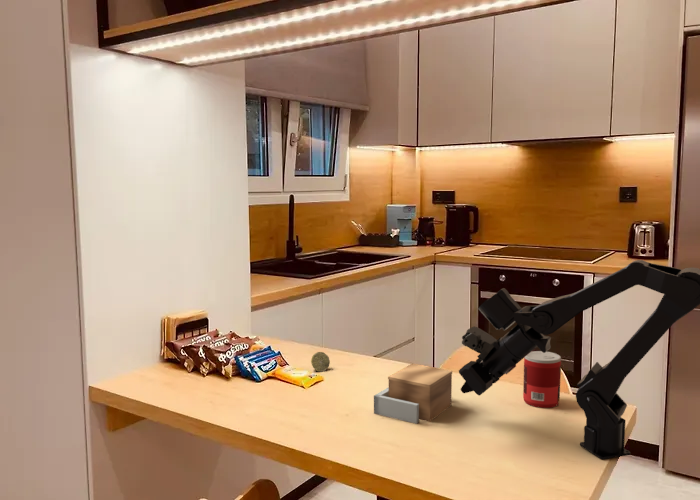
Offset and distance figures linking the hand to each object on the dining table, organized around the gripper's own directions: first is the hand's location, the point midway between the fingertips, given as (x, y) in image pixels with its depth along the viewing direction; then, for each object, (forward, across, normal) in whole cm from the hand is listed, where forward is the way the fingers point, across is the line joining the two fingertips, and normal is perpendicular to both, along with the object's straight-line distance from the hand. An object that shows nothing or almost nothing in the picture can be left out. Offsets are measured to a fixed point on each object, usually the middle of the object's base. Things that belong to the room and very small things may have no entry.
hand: (462, 391), depth 129 cm
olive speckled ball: (+36, -10, -28) cm, 47 cm away
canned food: (-4, -18, +13) cm, 23 cm away
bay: (+13, 0, -4) cm, 13 cm away
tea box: (+11, 0, -3) cm, 12 cm away
